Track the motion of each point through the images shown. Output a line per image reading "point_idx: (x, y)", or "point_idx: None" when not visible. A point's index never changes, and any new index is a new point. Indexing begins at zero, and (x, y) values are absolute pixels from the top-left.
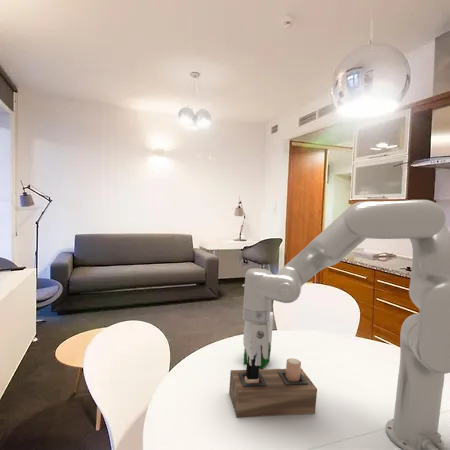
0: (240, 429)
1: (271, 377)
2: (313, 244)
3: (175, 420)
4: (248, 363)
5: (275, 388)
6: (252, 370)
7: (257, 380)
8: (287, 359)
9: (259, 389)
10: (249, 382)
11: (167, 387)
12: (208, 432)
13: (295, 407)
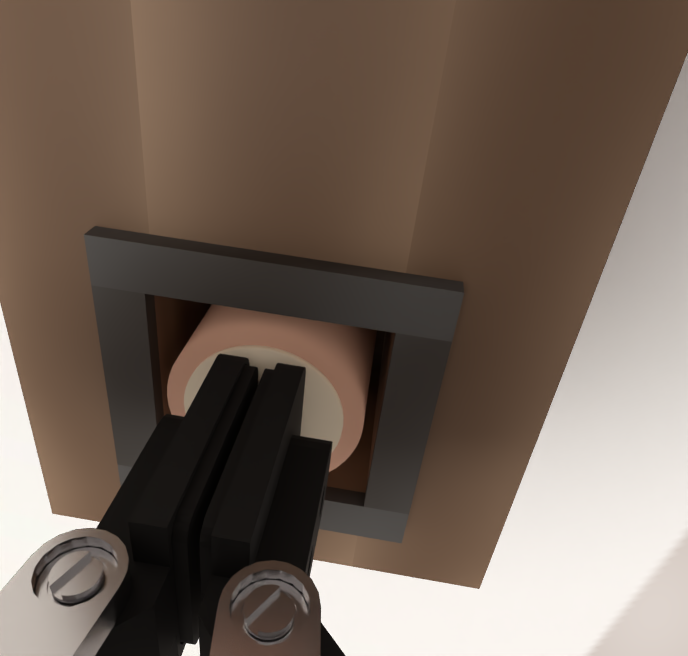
0: (593, 425)
1: (222, 78)
2: None
3: (392, 650)
4: (173, 647)
5: (574, 170)
6: (309, 576)
7: (325, 368)
8: None
9: (507, 398)
10: (341, 456)
11: None
12: (538, 570)
13: None
